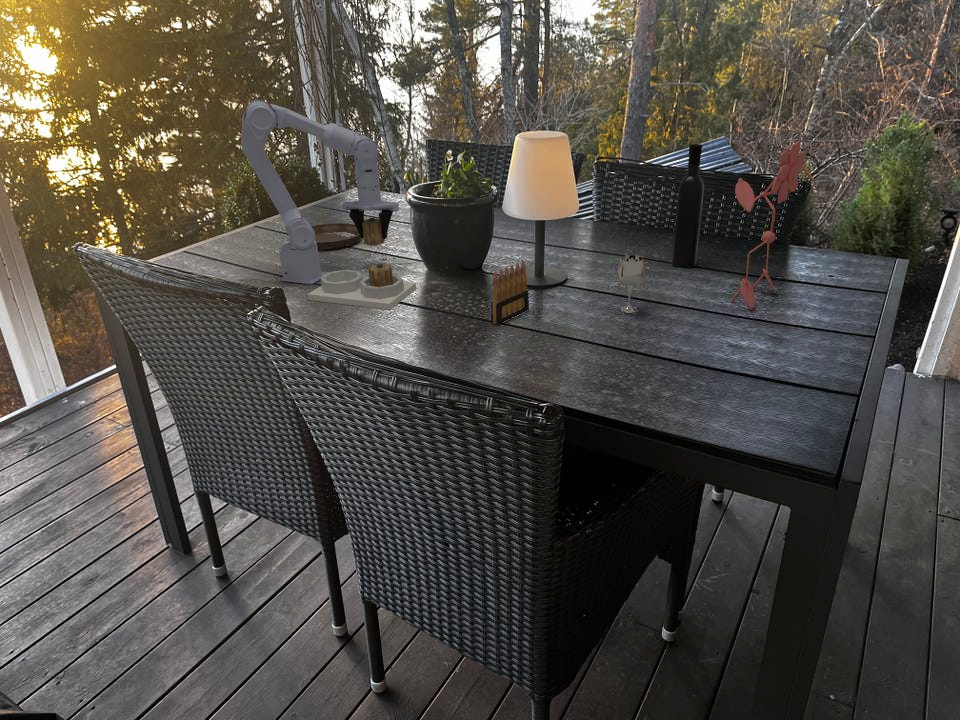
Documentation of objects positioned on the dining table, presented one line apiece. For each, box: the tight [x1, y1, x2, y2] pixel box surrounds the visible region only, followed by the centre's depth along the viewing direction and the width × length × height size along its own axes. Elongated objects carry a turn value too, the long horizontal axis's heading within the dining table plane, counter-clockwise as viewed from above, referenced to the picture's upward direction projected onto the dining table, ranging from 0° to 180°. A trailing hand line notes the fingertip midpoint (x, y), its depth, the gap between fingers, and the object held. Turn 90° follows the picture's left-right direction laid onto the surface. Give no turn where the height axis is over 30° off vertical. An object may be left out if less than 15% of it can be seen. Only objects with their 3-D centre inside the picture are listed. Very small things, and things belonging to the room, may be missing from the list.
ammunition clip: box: [490, 260, 530, 326], centre depth 150 cm, size 11×2×12 cm, turn 136°
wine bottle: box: [671, 143, 705, 268], centre depth 173 cm, size 6×6×30 cm
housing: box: [307, 269, 417, 311], centre depth 168 cm, size 22×14×4 cm, turn 69°
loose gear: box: [362, 217, 386, 247], centre depth 181 cm, size 5×5×7 cm
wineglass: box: [616, 254, 646, 313], centre depth 151 cm, size 6×6×12 cm
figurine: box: [730, 139, 816, 310], centre depth 146 cm, size 15×26×35 cm, turn 133°
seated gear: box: [368, 263, 393, 287], centre depth 165 cm, size 5×5×7 cm
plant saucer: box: [311, 222, 361, 250], centre depth 209 cm, size 21×21×3 cm
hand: (374, 237), depth 182 cm, fingers closed on loose gear, 5 cm apart
